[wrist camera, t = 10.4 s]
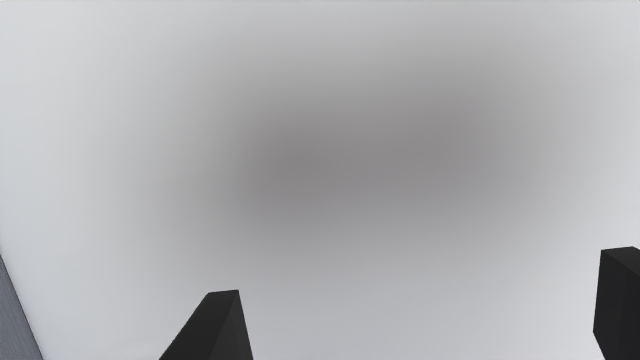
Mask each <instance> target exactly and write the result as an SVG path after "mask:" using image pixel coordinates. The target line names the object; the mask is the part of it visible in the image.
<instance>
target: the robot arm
mask: <svg viewBox="0 0 640 360" xmlns="http://www.w3.org/2000/svg"><path fill="white" fill-rule="evenodd" d="M593 333H594V336H595V338H596V340H597V342H598V345H599V347H600V349H601V351H602V354H603V356H604V358H605V360H640V250H639V249H637V248H635V247H633V246H632V247H622V248H613V249H604V250H601V256H600V266H599V276H598V287H597V297H596V307H595V317H594V327H593ZM159 360H253V356H252V351H251V347H250V342H249V337H248V333H247V328H246V323H245V319H244V314H243V309H242V305H241V300H240V295H239V291H238V290H229V291H220V292H210V293H208V294H207V295H206V296H205V297H204V299H203V300H202V301H201V303H200V304H199V305H198V307H197V308H196V310H195V311H194V313H193V314H192V315H191V317H190V318H189V320H188V321H187V322H186V324H185V325H184V327H183V328H182V329H181V331H180V332H179V334H178V335H177V336H176V338H175V339H174V340H173V342H172V343H171V344H170V346H169V347H168V348H167V350H166V351H165V352H164V354H163V355H162V356H161V357H160V359H159Z"/></svg>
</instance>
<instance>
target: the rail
mask: <svg viewBox="0 0 640 360" xmlns="http://www.w3.org/2000/svg"><path fill="white" fill-rule="evenodd" d="M0 360H43V359H42V357H41V354H40V352H39V349H38V347H37V345H36V342H35V340H34V337H33V335H32V332H31V330H30V327H29V325H28V323H27V320H26V318H25V315H24V313H23V310H22V308H21V306H20V303H19V301H18V298H17V296H16V293H15V291H14V288H13V286H12V284H11V281H10V279H9V276H8V274H7V271H6V269H5V267H4V264H3V262H2V259H1V257H0Z"/></svg>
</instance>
